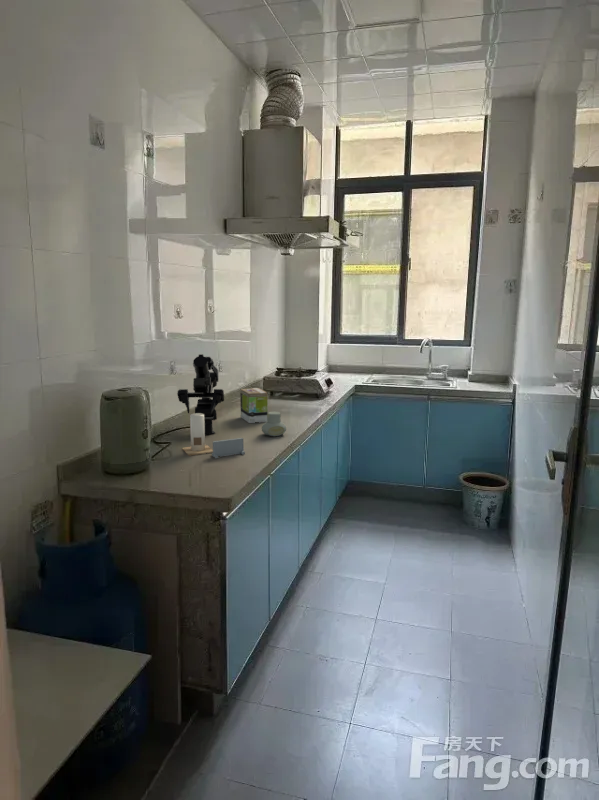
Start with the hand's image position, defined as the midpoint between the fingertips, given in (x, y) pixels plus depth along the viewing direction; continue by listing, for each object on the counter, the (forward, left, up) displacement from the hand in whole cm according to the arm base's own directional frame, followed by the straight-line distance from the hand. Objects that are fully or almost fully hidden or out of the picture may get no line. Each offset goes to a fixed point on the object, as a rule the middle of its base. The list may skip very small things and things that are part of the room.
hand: (199, 412), depth 218 cm
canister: (+8, -3, -13) cm, 15 cm away
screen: (+18, +6, -14) cm, 23 cm away
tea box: (-32, +37, -14) cm, 51 cm away
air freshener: (-1, +34, -14) cm, 36 cm away
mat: (+8, -3, -14) cm, 16 cm away
